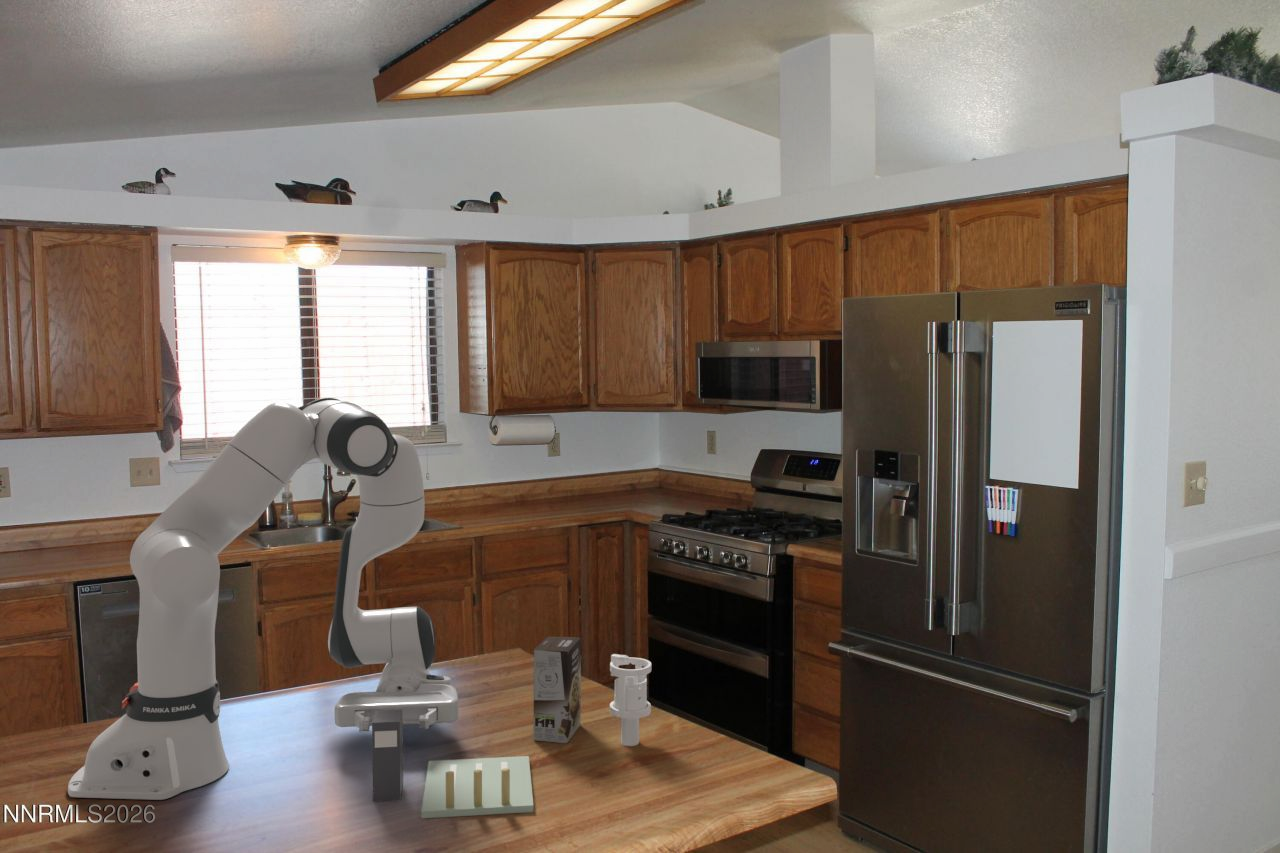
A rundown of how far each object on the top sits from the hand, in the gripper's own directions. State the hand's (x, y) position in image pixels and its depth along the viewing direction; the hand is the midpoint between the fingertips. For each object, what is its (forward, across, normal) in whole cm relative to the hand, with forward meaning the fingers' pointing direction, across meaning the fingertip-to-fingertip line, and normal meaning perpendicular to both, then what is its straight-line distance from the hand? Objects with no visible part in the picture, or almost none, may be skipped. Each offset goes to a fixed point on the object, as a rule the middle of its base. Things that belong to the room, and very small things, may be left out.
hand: (393, 725), depth 164 cm
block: (+11, 0, +6) cm, 13 cm away
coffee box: (-10, +27, +7) cm, 30 cm away
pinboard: (+11, +14, +6) cm, 18 cm away
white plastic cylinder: (-4, +39, +7) cm, 40 cm away
